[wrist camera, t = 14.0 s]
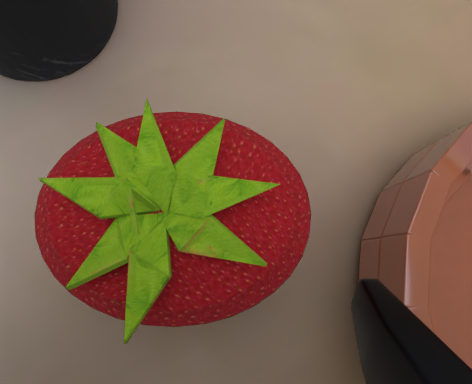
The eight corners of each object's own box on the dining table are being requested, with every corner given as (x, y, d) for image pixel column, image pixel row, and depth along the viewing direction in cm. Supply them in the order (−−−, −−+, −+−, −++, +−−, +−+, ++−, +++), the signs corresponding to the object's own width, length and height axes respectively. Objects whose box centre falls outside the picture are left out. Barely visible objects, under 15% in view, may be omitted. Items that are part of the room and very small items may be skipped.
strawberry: (283, 303, 16) (387, 369, 6) (94, 307, 16) (-104, 383, 6) (278, 162, 17) (361, 30, 7) (101, 162, 17) (-60, 24, 7)
